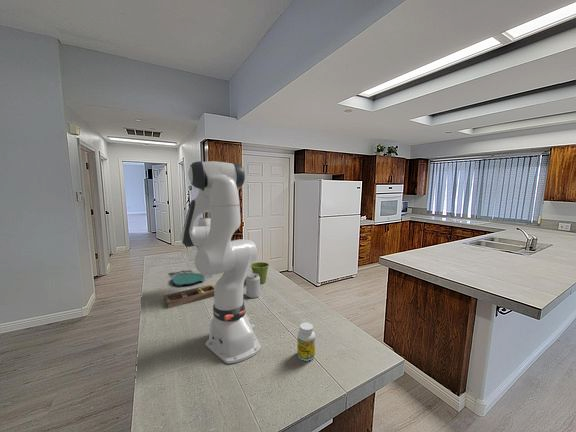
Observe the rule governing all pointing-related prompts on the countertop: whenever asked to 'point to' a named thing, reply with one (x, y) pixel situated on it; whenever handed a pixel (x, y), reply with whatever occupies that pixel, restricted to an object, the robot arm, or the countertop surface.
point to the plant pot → (260, 270)
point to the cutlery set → (186, 278)
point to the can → (253, 285)
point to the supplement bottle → (306, 342)
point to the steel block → (207, 276)
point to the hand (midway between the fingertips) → (206, 270)
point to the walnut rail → (186, 298)
